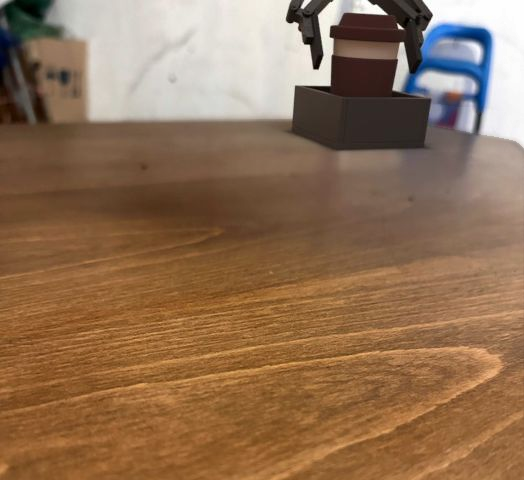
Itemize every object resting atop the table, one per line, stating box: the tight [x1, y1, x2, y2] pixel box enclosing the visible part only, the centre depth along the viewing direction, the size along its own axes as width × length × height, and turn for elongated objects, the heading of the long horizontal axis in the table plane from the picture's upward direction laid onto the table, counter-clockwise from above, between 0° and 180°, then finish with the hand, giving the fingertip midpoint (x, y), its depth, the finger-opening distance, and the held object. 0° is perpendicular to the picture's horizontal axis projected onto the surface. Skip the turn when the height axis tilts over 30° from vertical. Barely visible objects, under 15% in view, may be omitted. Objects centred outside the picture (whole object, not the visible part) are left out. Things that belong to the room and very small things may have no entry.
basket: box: [291, 84, 432, 151], centre depth 93 cm, size 14×14×6 cm
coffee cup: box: [329, 12, 406, 98], centre depth 90 cm, size 10×10×15 cm
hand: (368, 65), depth 88 cm, fingers open, 13 cm apart
